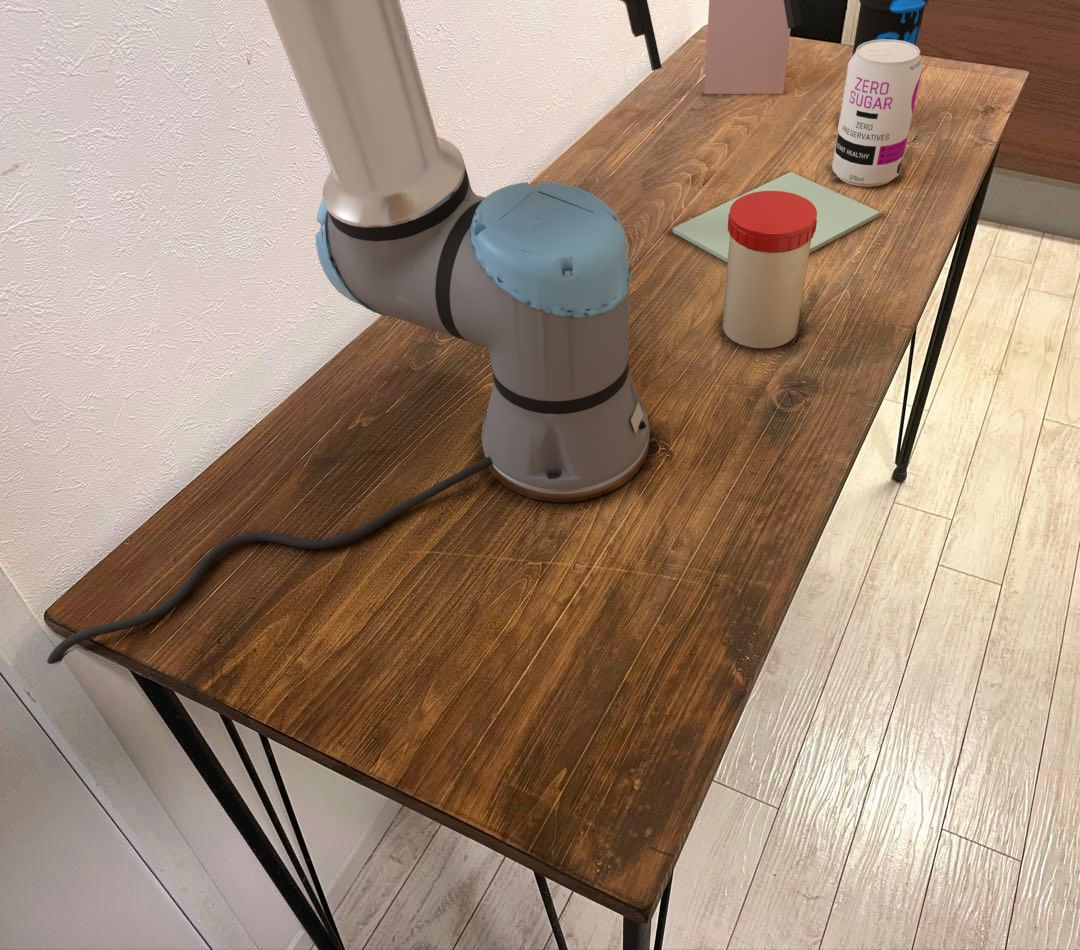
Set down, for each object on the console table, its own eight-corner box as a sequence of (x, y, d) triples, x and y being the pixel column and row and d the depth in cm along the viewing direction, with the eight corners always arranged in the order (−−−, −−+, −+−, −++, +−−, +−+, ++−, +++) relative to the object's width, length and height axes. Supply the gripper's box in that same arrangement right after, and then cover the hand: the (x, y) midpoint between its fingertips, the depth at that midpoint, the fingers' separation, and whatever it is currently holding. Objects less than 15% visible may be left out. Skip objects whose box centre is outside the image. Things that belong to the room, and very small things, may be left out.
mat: (758, 280, 100) (759, 276, 100) (672, 232, 109) (672, 227, 108) (879, 216, 108) (880, 211, 108) (790, 175, 116) (790, 171, 116)
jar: (760, 358, 91) (773, 247, 82) (707, 324, 95) (714, 216, 87) (813, 328, 94) (831, 217, 85) (758, 296, 98) (771, 189, 90)
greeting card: (786, 91, 134) (799, -20, 124) (757, 109, 131) (767, -4, 120) (722, 74, 140) (730, -34, 130) (692, 90, 137) (697, -19, 126)
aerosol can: (827, 118, 127) (850, -41, 113) (875, 104, 129) (904, -54, 115) (866, 140, 122) (896, -24, 108) (915, 125, 124) (951, -38, 110)
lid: (772, 262, 83) (774, 243, 81) (709, 228, 88) (710, 210, 86) (833, 230, 86) (836, 211, 84) (769, 199, 91) (771, 181, 89)
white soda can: (892, 157, 118) (918, 35, 107) (904, 188, 112) (932, 63, 102) (827, 158, 119) (846, 38, 108) (835, 190, 113) (856, 66, 102)
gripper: (807, -239, 83) (843, 12, 91) (543, -147, 87) (599, 87, 94) (828, -270, 76) (866, 4, 84) (540, -169, 80) (601, 85, 87)
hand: (725, 48), depth 89 cm, fingers open, 13 cm apart
